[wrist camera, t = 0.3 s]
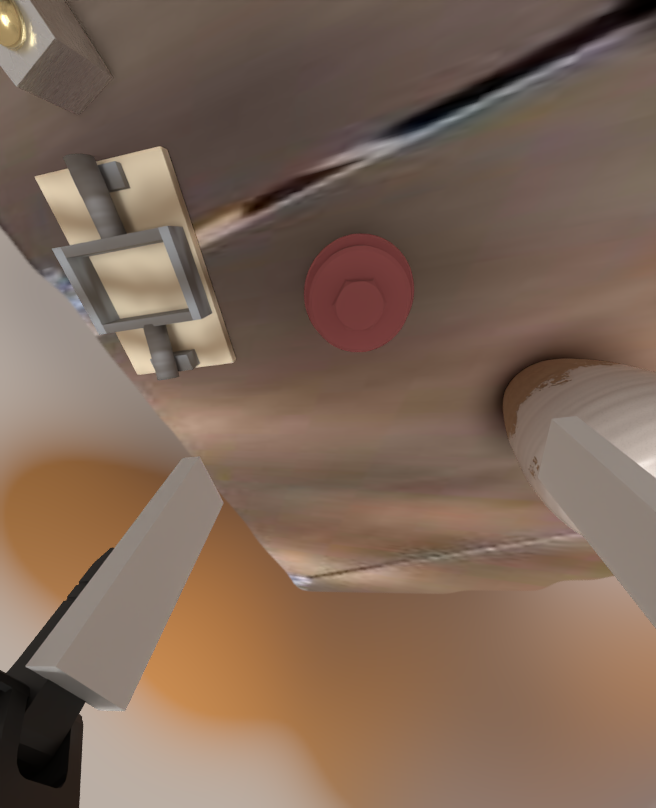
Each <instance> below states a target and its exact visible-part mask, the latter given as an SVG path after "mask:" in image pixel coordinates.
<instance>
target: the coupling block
mask: <svg viewBox="0 0 656 808" xmlns="http://www.w3.org/2000/svg"><path fill="white" fill-rule="evenodd" d="M0 66H1V67H2V68H3V70H4V71H5V72H6V74H7V75H8V76H9V78H10V79H11V80H12V82H13V83H14V84H15V86H16V87H18V88H20V89H22V90H25V91H27V92H29V93H31V94H33V95H35V96H38V97H40V98H42V99H44V100H46V101H49V102H51V103H53V104H55V105H57V106H59V107H62V108H64V109H66V110H68V111H70V112H73V113H75V114H77V115H80V114H81V113H82V112H83V111H84V110H85V108H86V107H87V106H88V105H89V104H90V103H91V102H92V101H93V100H94V99H95V97H96V96H97V95H98V94H99V93H100V92H101V91H102V90H103V89H104V88H105V87H106V85H107V84H108V83H109V82H110V81H111V80H112V79H113V76H112V75H111V73H110V71H109V70H108V68H107V67H106V65H105V64H104V62H103V60H102V59H101V57H100V56H99V54H98V52H97V51H96V49H95V48H94V46H93V45H92V43H91V41H90V40H89V38H88V37H87V35H86V34H85V32H84V30H83V29H82V27H81V26H80V24H79V23H78V21H77V19H76V18H75V16H74V15H73V13H72V12H71V10H70V8H69V7H68V5H67V4H66V3H65V2H64V1H63V0H0Z"/></svg>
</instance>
